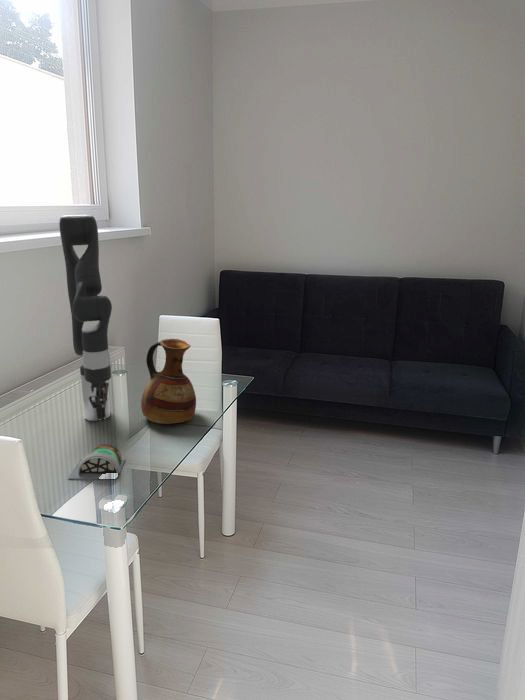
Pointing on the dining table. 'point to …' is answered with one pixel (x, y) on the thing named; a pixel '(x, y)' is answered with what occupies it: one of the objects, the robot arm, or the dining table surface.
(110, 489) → the dining table surface
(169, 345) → the ceramic pitcher
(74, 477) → the mat
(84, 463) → the food container
